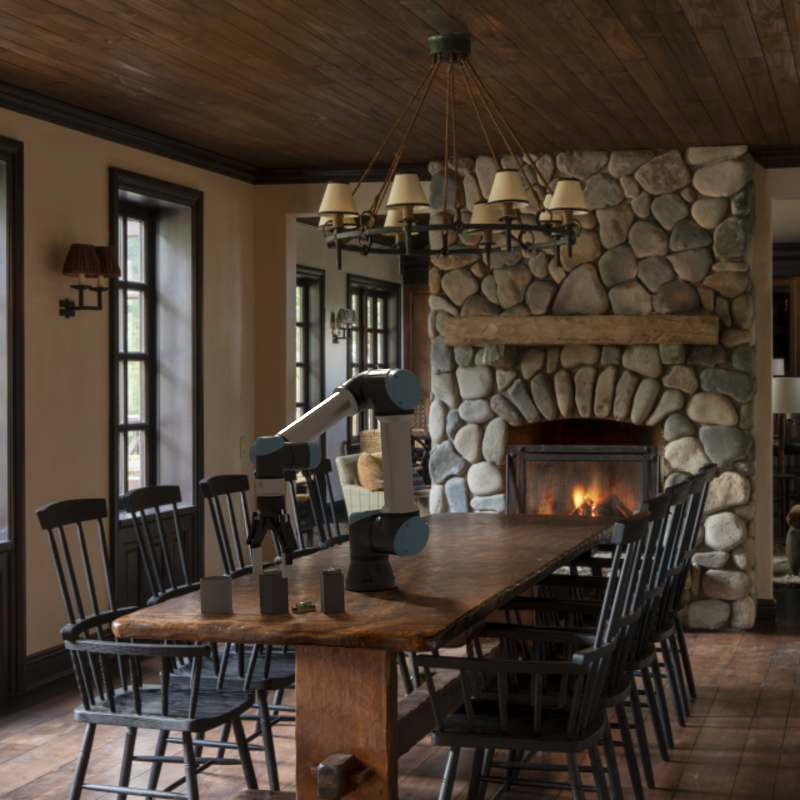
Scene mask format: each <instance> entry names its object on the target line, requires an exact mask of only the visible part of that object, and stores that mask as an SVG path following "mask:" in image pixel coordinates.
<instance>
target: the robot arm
mask: <svg viewBox="0 0 800 800" xmlns="http://www.w3.org/2000/svg"><path fill="white" fill-rule="evenodd" d="M422 396H423V390H422V385H421V382H420V380H419V378H418V377H417V376H416V375H415V374H414V372H412V371H411V370H409V369H405V368H397V367H394V368H379V369H378V368H377V369H375V368H373V369H371V368H370V369H367V370H363V371H361V372H359V373H357V374H355V375H353V376H352V377H349V379H346V380H345V381H344V382H342V383H341V384H339V385H338V386H337V387H335V388H334V389H333V390H332V393H331V395H329V396H328V397H327V398H326V399H324V400H323V401H321V402H320V403H318V404H317V405H316V406H314V407H313V408H311V409H309V410H308V411H306V413H304V414H303V415H302V416H300V417H297V419H296V420H294V421H293V422H292V423H290V424H288V425H287V426H285V427H284V428H282V429H281V430H280V431H278V432H277V433H276V434H274V435H270V436H269V435H267V436H266V435H264V436H259V437H257V438H256V439H255V442H254V443H252V445H250V447H249V451H248V458H249V461H250V463H251V464H252V465H253V466H255V480H256V481H255V482H256V483H255V484H256V486H255V487H256V494H257V496H256V509H257V511H253V512H252V517H251V519H252V520H251V523H250V526H249V531H248V535H247V538H246V541H245V542H246V543H245V544H246V545H247V546H249V547H250V549H251V561H252V564H251V565H252V573H253V574H255V573H256V574H257V573H263V571H264V570H263V547H262V546H263V545H262V543H263V540H264V539H265V537H266V534H267V533H268V531H272V532H273V533H274V535H275V536H276V538H277V540H278V542H279V545H280V547H281V548H282V551H281V570H282V578H288V579H289V578H293V563H294V561H293V555H294V554H293V553H294V552H295V551H297V550H299V546H298V544H297V540H296V536H295V533H294V529H293V526H292V522H291V514H289V513H285V514H284V513H283V510H284V509H286V496H285V495H284V494H285V492H286V485H285V484H286V483H285V478H286V477H285V474H286V473H285V472H287V471H300V470H303V471H304V470H306V471H308V470H311V469H313V470H314V469H316V468H317V467H318V466H319V465H320V464H321V461H322V451H321V448H320V446H319V445H318V443H316V442H315V441H314V440H316V439H317V438H318V437H320V436H321V435H324V433H325V432H327V431H329V430H330V429H331V428H332V427H333V426H335V425H337V424H338V423H339V422H341V421H342V420H343V419H345V418H346V417H353V416H355V415H358V413H361V412H362V411H367V410H373V412H374V413H373V414H374V418H376V420H377V421H379V422H378V423H379V427H380V428H379V429H380V430H379V431H380V442H381V443H380V446H381V447H380V448H381V461H382V462H381V463H382V480H383V481H382V483H383V501H384V503H383V504H384V505H383V506H382V507H381V508H378V509H377V508H376V509H369V510H360V511H354V512H351V513H350V515H349V517H348V542H349V543H348V544H349V564H348V569H347V573H346V578H344V589H346V590H349V591H352V592H353V591H355V592H377V591H378V592H379V591H386V590H391V589H394V588H396V587H397V581H396V576H395V574H394V570H393V567H392V564H391V562H390V555H391V556H396V557H397V556H398V557H401V558H403V557H404V558H406V557H415V556H417V555H419V554H421V553H422V552H423V550H424V548H425V547H426V546H427V544H428V542H429V538H430V526H429V523H428V522H426V519H424V518H423V517H422V516H421V512H420V506H418V505H417V504H416V503H415V496H414V495H415V494H414V493H415V491H414V475H413V474H414V473H413V460H412V459H413V457H412V441H411V440H412V439H411V419H412V418H413V417H414V416H415V408H417V407H418V406H419V404H420V401H421V400H422Z"/></svg>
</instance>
